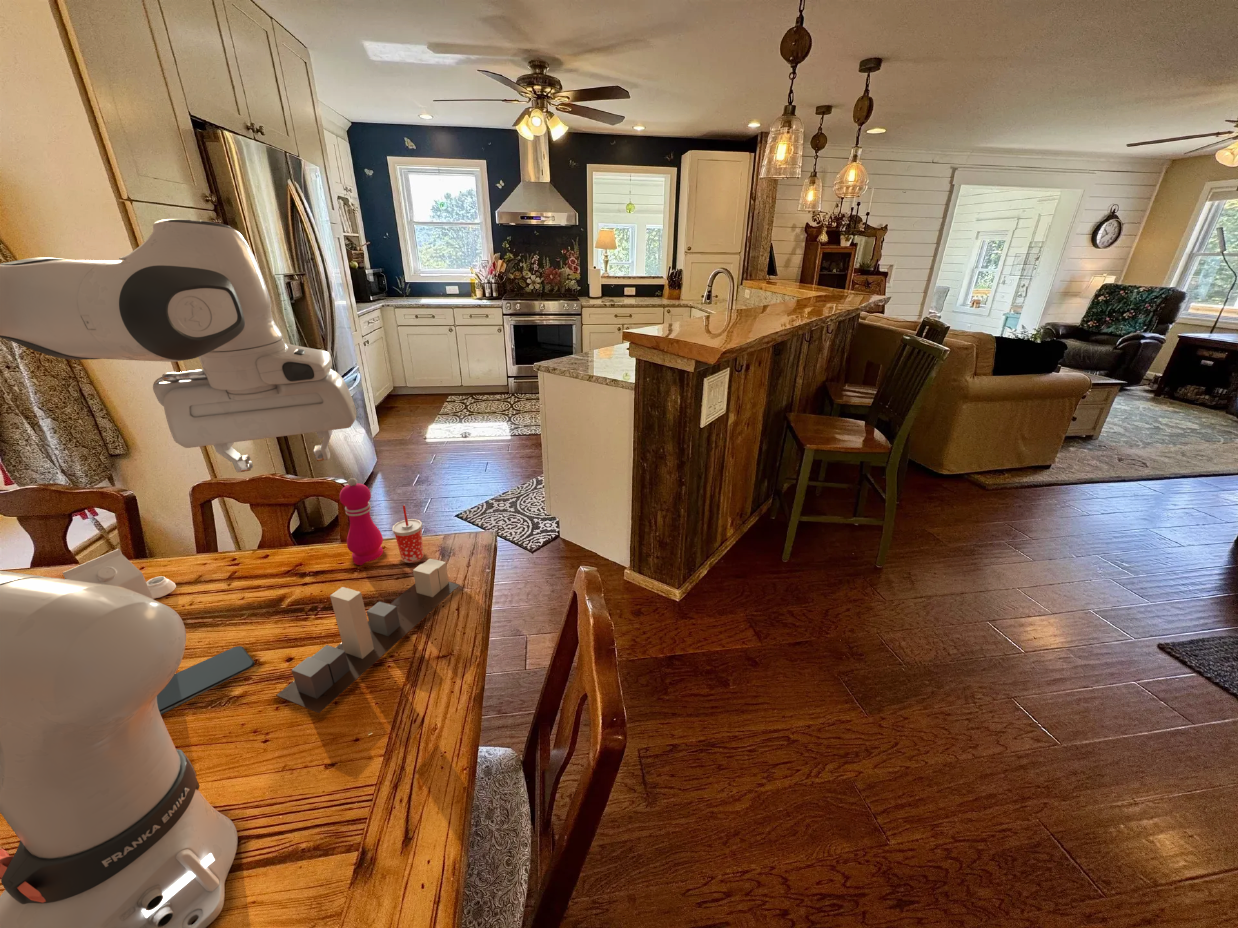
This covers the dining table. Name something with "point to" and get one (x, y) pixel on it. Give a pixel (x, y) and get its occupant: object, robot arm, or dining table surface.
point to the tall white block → (352, 622)
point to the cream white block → (430, 577)
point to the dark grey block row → (339, 655)
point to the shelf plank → (409, 613)
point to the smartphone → (203, 677)
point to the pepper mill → (361, 523)
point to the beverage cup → (409, 538)
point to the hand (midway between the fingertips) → (285, 464)
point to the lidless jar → (160, 586)
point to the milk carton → (110, 573)
